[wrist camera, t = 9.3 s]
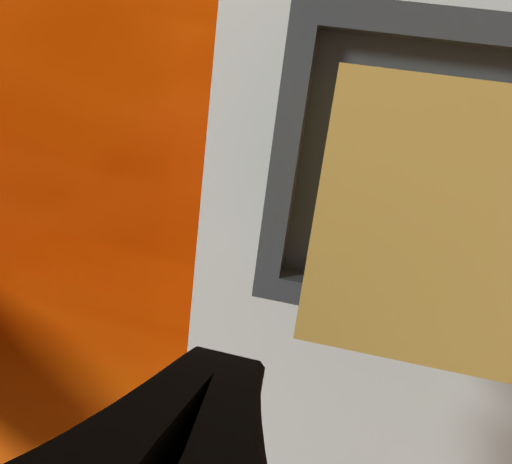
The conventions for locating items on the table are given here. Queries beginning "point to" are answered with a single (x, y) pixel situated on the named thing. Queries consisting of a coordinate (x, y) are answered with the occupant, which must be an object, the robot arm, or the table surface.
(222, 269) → the build board
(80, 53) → the table surface
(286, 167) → the charcoal base block
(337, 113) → the ochre block
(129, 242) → the table surface
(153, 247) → the table surface
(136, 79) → the table surface
